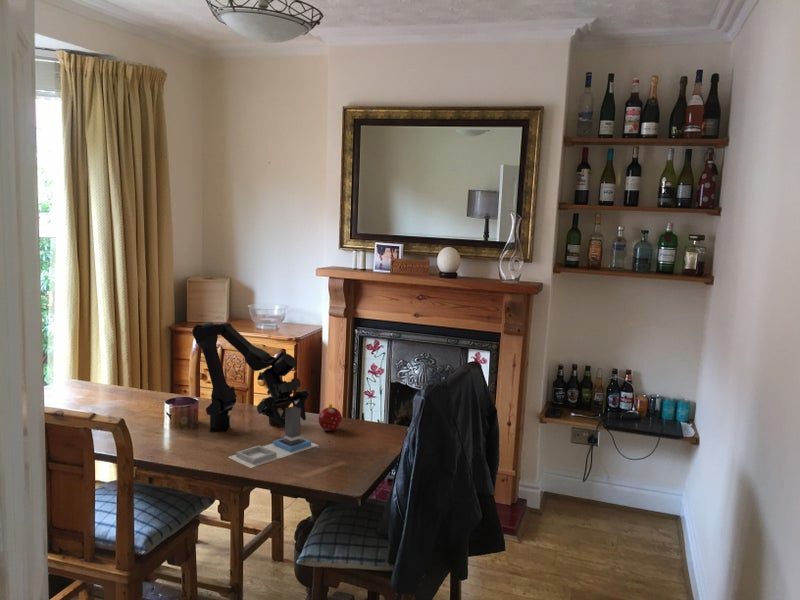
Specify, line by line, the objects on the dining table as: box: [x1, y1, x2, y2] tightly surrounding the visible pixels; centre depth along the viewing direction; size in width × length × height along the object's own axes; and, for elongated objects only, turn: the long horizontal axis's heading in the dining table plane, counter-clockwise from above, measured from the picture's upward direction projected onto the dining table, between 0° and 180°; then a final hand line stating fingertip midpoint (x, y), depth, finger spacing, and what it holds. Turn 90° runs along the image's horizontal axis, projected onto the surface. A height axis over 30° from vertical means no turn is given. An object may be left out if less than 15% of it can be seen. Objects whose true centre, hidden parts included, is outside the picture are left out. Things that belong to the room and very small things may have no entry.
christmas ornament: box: [318, 403, 343, 432], centre depth 231 cm, size 9×9×10 cm
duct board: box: [228, 436, 320, 469], centre depth 207 cm, size 28×12×2 cm, turn 140°
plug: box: [282, 405, 303, 446], centre depth 212 cm, size 5×5×13 cm
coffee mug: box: [266, 395, 293, 428], centre depth 236 cm, size 12×9×10 cm
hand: (294, 422), depth 211 cm, fingers open, 9 cm apart
